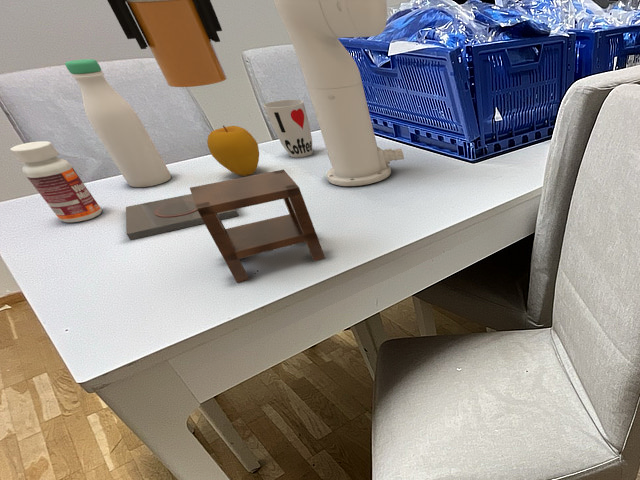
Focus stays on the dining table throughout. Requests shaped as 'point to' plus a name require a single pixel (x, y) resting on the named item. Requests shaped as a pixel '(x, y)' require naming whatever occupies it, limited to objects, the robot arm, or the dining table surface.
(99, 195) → the dining table surface
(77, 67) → the milk bottle
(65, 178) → the pill bottle
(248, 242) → the rack
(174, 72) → the honey jar
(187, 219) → the hob
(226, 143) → the apple
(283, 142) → the cup
